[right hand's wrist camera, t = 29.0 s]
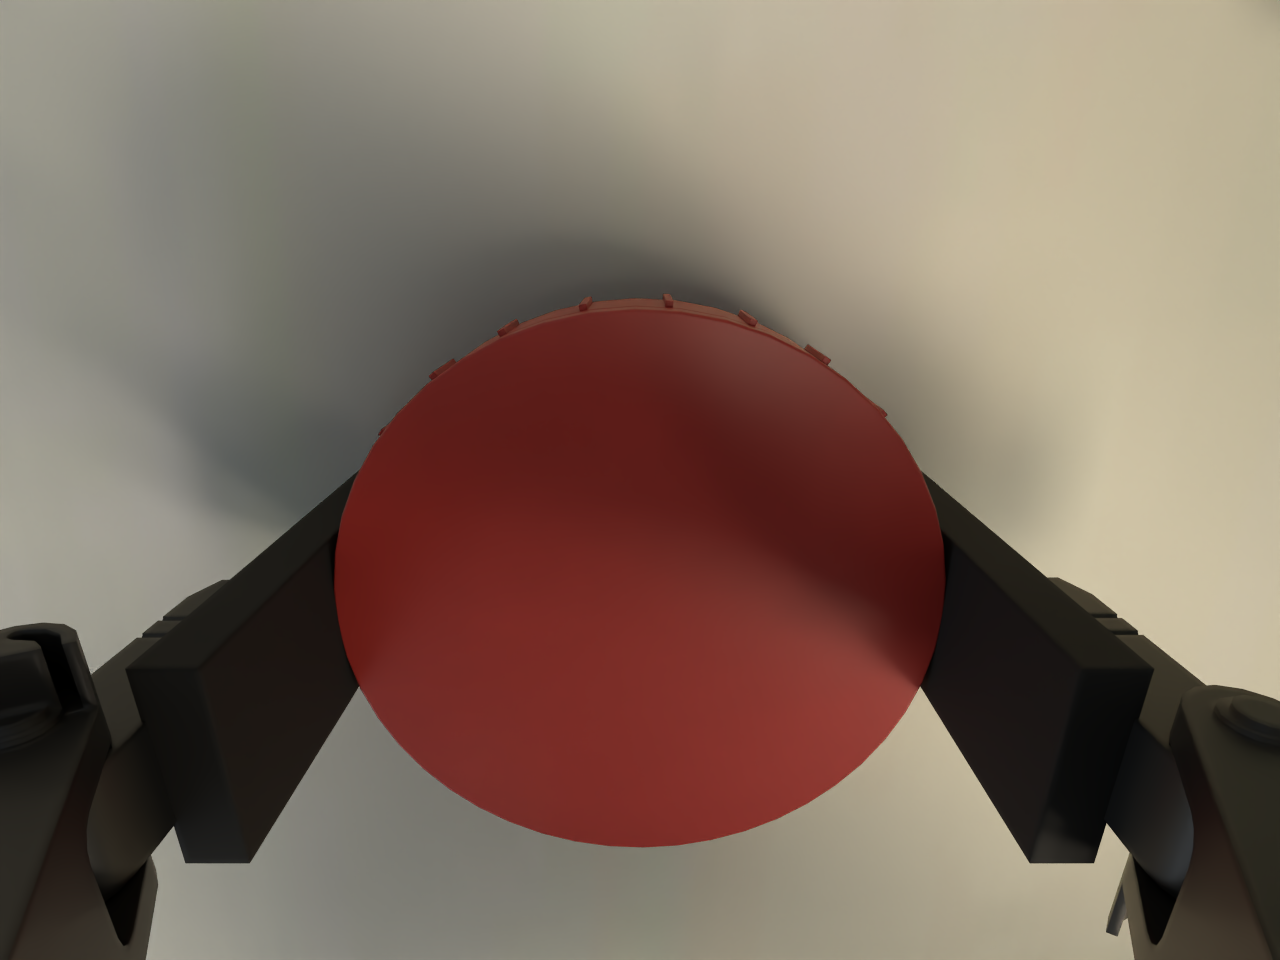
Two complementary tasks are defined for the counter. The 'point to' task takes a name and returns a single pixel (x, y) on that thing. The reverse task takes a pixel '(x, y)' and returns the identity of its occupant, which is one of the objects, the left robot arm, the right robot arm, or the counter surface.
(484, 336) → the counter surface
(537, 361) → the lid
